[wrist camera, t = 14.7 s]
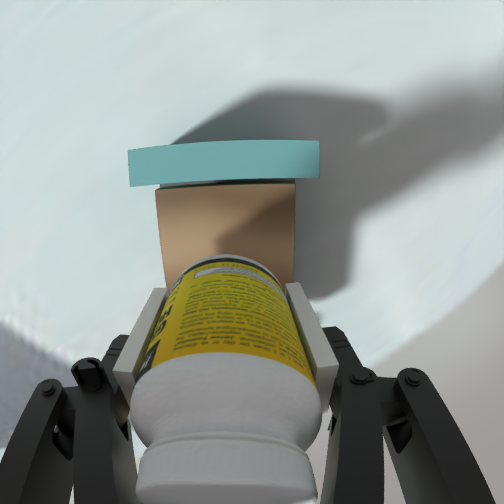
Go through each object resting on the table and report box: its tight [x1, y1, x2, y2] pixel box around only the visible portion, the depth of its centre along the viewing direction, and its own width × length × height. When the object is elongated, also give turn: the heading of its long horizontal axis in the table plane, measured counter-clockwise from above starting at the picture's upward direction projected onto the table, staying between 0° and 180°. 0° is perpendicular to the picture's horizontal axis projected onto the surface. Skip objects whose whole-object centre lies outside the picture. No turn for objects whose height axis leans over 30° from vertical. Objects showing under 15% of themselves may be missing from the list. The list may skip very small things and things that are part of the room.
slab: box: [155, 181, 295, 294], centre depth 18 cm, size 13×8×2 cm, turn 1°
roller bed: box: [128, 140, 319, 188], centre depth 20 cm, size 22×10×7 cm, turn 1°
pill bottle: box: [130, 254, 322, 504], centre depth 10 cm, size 6×6×11 cm
